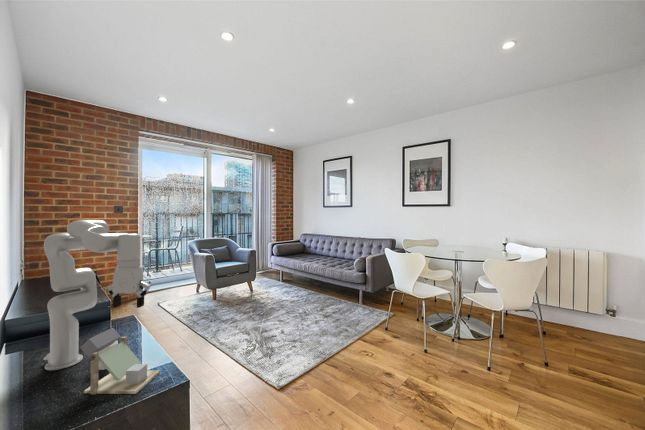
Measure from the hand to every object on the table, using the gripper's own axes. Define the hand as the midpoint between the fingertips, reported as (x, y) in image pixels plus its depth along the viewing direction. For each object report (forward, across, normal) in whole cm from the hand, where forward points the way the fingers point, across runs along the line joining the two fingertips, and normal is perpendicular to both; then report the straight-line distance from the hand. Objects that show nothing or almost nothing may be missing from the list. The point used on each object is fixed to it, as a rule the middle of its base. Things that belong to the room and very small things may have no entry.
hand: (128, 306), depth 108 cm
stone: (+27, +1, 0) cm, 27 cm away
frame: (+30, -2, 0) cm, 30 cm away
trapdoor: (+21, -8, 0) cm, 23 cm away
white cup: (+31, -20, +12) cm, 38 cm away
